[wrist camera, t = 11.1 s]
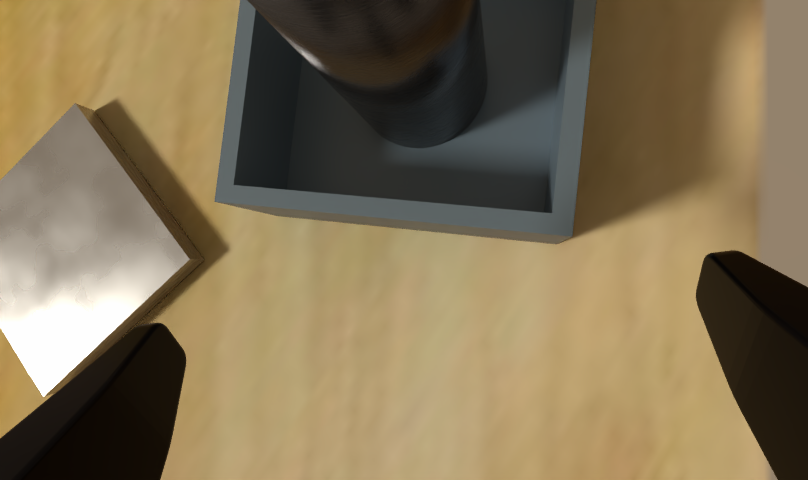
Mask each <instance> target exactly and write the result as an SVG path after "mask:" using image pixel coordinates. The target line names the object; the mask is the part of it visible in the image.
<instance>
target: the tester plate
mask: <svg viewBox="0 0 808 480" xmlns="http://www.w3.org/2000/svg"><path fill="white" fill-rule="evenodd" d="M203 261H204V258H203V257H202V256H201V254H200V253H199V252H198V250H197V249H196V248H195V246H194V245H193V244H192V242H191V241H190V240H189V238H188V237H187V236H186V234H185V233H184V231H183V230H182V229H181V227H180V226H179V225H178V223H177V222H176V221H175V219H174V218H173V217H172V215H171V214H170V213H169V211H168V210H167V209H166V207H165V206H164V204H163V203H162V202H161V200H160V199H159V198H158V196H157V195H156V194H155V192H154V191H153V190H152V188H151V187H150V186H149V184H148V183H147V182H146V180H145V179H144V177H143V176H142V175H141V173H140V172H139V171H138V169H137V168H136V167H135V165H134V164H133V163H132V161H131V160H130V159H129V157H128V156H127V154H126V153H125V152H124V150H123V149H122V148H121V146H120V145H119V144H118V142H117V141H116V140H115V138H114V137H113V136H112V134H111V133H110V132H109V130H108V129H107V127H106V126H105V125H104V123H103V122H102V121H101V119H100V118H99V117H98V115H97V114H96V113H95V111H94V110H92V109H89V108H86V107H84V106H81V105H78V104H76V103H75V104H74V105H73V106H72V107H71V108H70V109H69V110H68V111H67V112H66V113H65V114H64V115H63V116H62V117H61V118H60V119H59V120H58V121H57V122H56V123H55V124H54V126H53V127H52V128H51V129H50V130H49V131H48V132H47V133H46V134H45V135H44V136H43V137H42V138H41V139H40V140H39V141H38V142H37V143H36V144H35V145H34V146H33V147H32V148H31V149H30V150H29V151H28V152H27V153H26V154H25V155H24V156H23V158H22V159H21V160H20V161H19V162H18V163H17V164H16V165H15V166H14V167H13V168H12V169H11V170H10V171H9V172H8V173H7V174H6V175H5V176H4V177H3V178H2V179H1V180H0V328H1V329H2V331H3V333H4V334H5V336H6V337H7V339H8V341H9V342H10V344H11V345H12V347H13V349H14V350H15V352H16V353H17V355H18V357H19V358H20V360H21V361H22V363H23V365H24V366H25V368H26V369H27V371H28V373H29V374H30V376H31V377H32V379H33V381H34V382H35V384H36V385H37V387H38V389H39V390H40V392H41V393H42V395H43V396H47V395H50V394H54V393H56V392H57V391H58V390H60V389H61V388H62V387H63V386H65V385H66V384H67V383H68V382H69V381H71V380H72V379H73V378H74V377H75V376H77V375H78V374H79V373H80V372H81V371H83V370H84V369H85V368H86V367H88V366H89V365H90V364H91V363H92V362H94V361H95V360H96V359H97V358H98V357H100V356H101V355H102V354H103V353H105V352H106V351H107V350H108V349H109V348H110V347H111V346H113V345H114V344H115V343H116V342H117V341H118V340H119V339H120V338H121V337H122V336H123V335H124V334H125V333H126V332H128V331H129V330H130V329H131V328H132V327H133V326H134V325H135V324H136V323H137V322H138V321H139V320H140V319H141V318H143V317H144V316H145V315H146V314H147V313H148V312H149V311H150V310H151V309H152V308H153V307H154V306H155V305H157V304H158V303H159V302H160V301H161V300H162V299H163V298H164V297H165V296H166V295H167V294H168V293H169V292H170V291H172V290H173V289H174V288H175V287H176V286H177V285H178V284H179V283H180V282H181V281H182V280H183V279H184V278H185V277H187V276H188V275H189V274H190V273H191V272H192V271H193V270H194V269H195V268H196V267H197V266H198V265H199V264H200V263H202V262H203Z"/></svg>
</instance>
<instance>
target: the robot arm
mask: <svg viewBox="0 0 808 480" xmlns="http://www.w3.org/2000/svg"><path fill="white" fill-rule="evenodd" d="M696 301H697V305H698V308H699V311H700V313H701V316H702V318H703V321H704V323H705V326H706V328H707V331H708V334H709V336H710V339H711V341H712V344H713V346H714V349H715V351H716V354H717V357H718V359H719V362H720V364H721V367H722V369H723V372H724V374H725V377H726V379H727V382H728V384H729V387H730V389H731V391H732V394H733V396H734V398H735V400H736V402H737V404H738V406H739V408H740V410H741V412H742V414H743V416H744V417H745V419H746V421H747V423H748V425H749V427H750V429H751V431H752V432H753V434H754V436H755V438H756V440H757V442H758V444H759V446H760V447H761V449H762V451H763V453H764V455H765V457H766V459H767V461H768V462H769V464H770V466H771V468H772V470H773V471H774V474H775V476H776V477H777V479H778V480H808V287H806V286H804V285H802V284H801V283H799V282H797V281H795V280H793V279H791V278H789V277H787V276H786V275H784V274H782V273H780V272H778V271H776V270H774V269H772V268H771V267H768V266H767V265H765V264H763V263H761V262H759V261H757V260H755V259H754V258H752V257H750V256H748V255H746V254H744V253H742V252H740V251H734V250H731V251H723V252H715V253H710V254H708V255H707V256H706V257H705V258H704V261H703V264H702V269H701V273H700V277H699V281H698V285H697V290H696ZM185 368H186V355H185V352H184V350H183V348H182V347H181V346H180V344H179V343H178V342H177V340H176V339H175V338H174V336H173V335H172V334H171V332H170V331H169V329H168V328H167V327H166V326H165V325H164V324H162V323H151V324H143V325H139V326H137V327H135V328H134V329H132V330H131V331H130V332H129V333H128V334H126V335H125V336H124V337H123V338H121V339H120V340H119V341H118V342H117V343H115V344H114V345H113V346H112V347H111V348H109V349H108V350H107V351H106V352H105V353H103V354H102V355H101V356H100V357H98V358H97V359H96V360H95V361H94V362H92V363H91V364H90V365H89V366H88V367H86V368H85V369H84V370H83V371H81V372H80V373H79V374H78V375H77V376H75V377H74V378H73V379H72V380H71V381H69V382H68V383H67V384H66V385H65V386H63V387H62V388H61V389H60V390H58V391H57V392H56V393H55V394H54V395H52V396H51V397H50V398H49V399H48V400H46V401H45V402H44V403H43V404H42V405H40V406H39V407H38V408H37V409H35V410H34V411H33V412H32V413H31V414H29V415H28V416H27V417H26V418H25V419H23V420H22V421H21V422H20V423H19V424H17V425H16V426H15V427H14V428H12V429H11V430H10V431H9V432H8V433H6V434H5V435H4V436H3V437H2V438H0V480H160V479H161V475H162V472H163V469H164V465H165V462H166V459H167V455H168V451H169V448H170V444H171V439H172V435H173V430H174V425H175V420H176V414H177V409H178V404H179V399H180V394H181V388H182V383H183V378H184V373H185Z"/></svg>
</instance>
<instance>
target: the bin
mask: <svg viewBox="0 0 808 480" xmlns="http://www.w3.org/2000/svg"><path fill="white" fill-rule="evenodd" d="M480 3H481V13H482V24H483V34H484V44H485V55H486V65H487V75H488V82H487V91H486V96H485V99H484V102H483V105H482V107H481V109H480V111H479V113H478V114H477V116H476V118H475V119H474V120H473V122H472V123H471V124H470V125H469V126H468V127H467V128H466V129H465V130H464V131H463V132H462V133H460V134H459V135H458V136H456V137H455V138H453V139H451V140H450V141H448V142H445V143H443V144H441V145H437V146H434V147H428V148H408V147H403V146H400V145H397V144H394V143H392V142H390V141H388V140H387V139H385V138H383V137H382V136H381V135H380V134H378V133H377V132H376V131H375V130H374V129H373V128H372V127H371V126H370V125H369V124H368V123H367V122H366V121H365V120H364V119H363V118H362V117H361V116H360V115H359V114H358V113H357V112H356V110H355V109H354V108H353V107H352V106H351V105H350V104H349V103H348V102H347V101H346V100H345V99H344V98H343V97H342V96H341V95H340V94H339V93H338V92H337V91H336V90H335V89H334V88H333V87H332V86H331V85H330V84H329V83H328V82H327V81H326V80H325V79H324V78H323V77H322V76H321V75H320V74H319V73H318V72H317V71H316V70H315V69H314V68H313V67H312V66H311V65H310V64H309V63H308V62H307V61H306V60H305V59H304V58H303V57H302V56H301V55H300V54H299V53H298V52H297V51H296V50H295V48H294V47H293V46H292V45H291V44H290V43H289V42H288V41H287V40H286V39H285V38H284V37H283V36H282V35H281V34H280V33H279V32H278V31H277V30H276V29H275V28H274V27H273V26H272V25H271V24H270V23H269V22H268V21H267V20H266V19H265V18H264V17H263V16H262V15H261V14H260V13H259V12H258V11H257V10H256V9H255V8H254V7H253V6H252V5H251V4H250V3H249V2H248V1H247V0H240V6H239V14H238V22H237V30H236V38H235V46H234V53H233V61H232V69H231V77H230V85H229V93H228V101H227V108H226V116H225V124H224V132H223V140H222V148H221V156H220V163H219V171H218V179H217V187H216V195H215V202H218V203H223V204H227V205H231V206H236V207H240V208H245V209H249V210H253V211H258V212H262V213H266V214H271V215H275V216H284V217H294V218H303V219H313V220H323V221H333V222H343V223H353V224H363V225H372V226H382V227H392V228H402V229H412V230H422V231H431V232H441V233H451V234H461V235H471V236H481V237H490V238H500V239H510V240H520V241H530V242H540V243H550V244H558V243H560V242H562V241H564V240H566V239H569V238H571V237H572V235H573V225H574V215H575V206H576V196H577V186H578V176H579V166H580V157H581V147H582V137H583V127H584V118H585V108H586V98H587V88H588V78H589V69H590V59H591V49H592V39H593V30H594V20H595V10H596V0H480Z"/></svg>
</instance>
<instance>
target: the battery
mask: <svg viewBox="0 0 808 480" xmlns="http://www.w3.org/2000/svg"><path fill="white" fill-rule="evenodd" d="M247 1H248V2H249V3H250V4H251V5H252V6H253V7H254V8H255V9H256V10H257V11H258V12H259V13H260V14H261V15H262V16H263V17H264V18H265V19H266V20H267V21H268V22H269V23H270V24H271V25H272V26H273V27H274V28H275V29H276V30H277V31H278V32H279V33H280V34H281V35H282V36H283V37H284V38H285V39H286V40H287V41H288V42H289V43H290V44H291V45H292V46H293V47H294V48H295V50H296V51H297V52H298V53H299V54H300V55H301V56H302V57H303V58H304V59H305V60H306V61H307V62H308V63H309V64H310V65H311V66H312V67H313V68H314V69H315V70H316V71H317V72H318V73H319V74H320V75H321V76H322V77H323V78H324V79H325V80H326V81H327V82H328V83H329V84H330V85H331V86H332V87H333V88H334V89H335V90H336V91H337V92H338V93H339V94H340V95H341V96H342V97H343V98H344V99H345V100H346V101H347V102H348V103H349V104H350V105H351V106H352V107H353V108H354V109H355V110H356V112H357V113H358V114H359V115H360V116H361V117H362V118H363V119H364V120H365V121H366V122H367V123H368V124H369V125H370V126H371V127H372V128H373V129H374V130H375V131H376V132H377V133H378V134H380V135H381V136H382V137H383V138H385V139H387V140H388V141H390V142H392V143H394V144H397V145H400V146H403V147H408V148H428V147H434V146H437V145H441V144H443V143H445V142H448V141H450V140H451V139H453V138H455V137H456V136H458V135H459V134H460V133H462V132H463V131H464V130H465V129H466V128H467V127H468V126H469V125H470V124H471V123H472V122H473V120H474V119H475V118H476V116H477V114H478V113H479V111H480V109H481V107H482V105H483V102H484V99H485V96H486V91H487V82H488V75H487V65H486V55H485V44H484V34H483V24H482V13H481V3H480V0H247Z"/></svg>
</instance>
